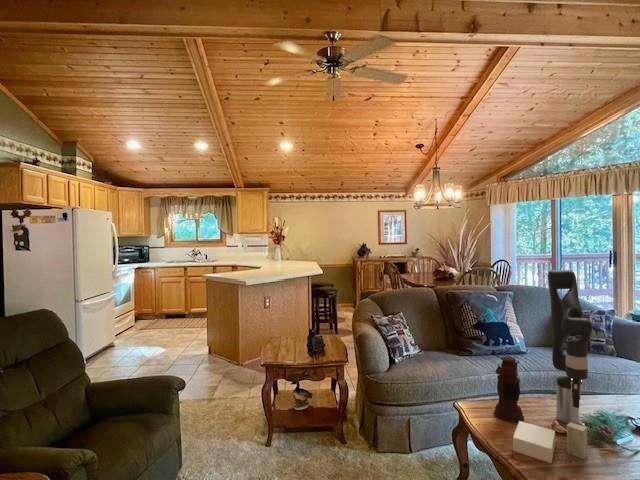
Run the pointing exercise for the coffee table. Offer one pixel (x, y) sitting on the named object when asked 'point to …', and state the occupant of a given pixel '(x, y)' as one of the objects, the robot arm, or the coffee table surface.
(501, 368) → the dark brown tall piece
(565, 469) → the coffee table surface
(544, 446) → the cream box
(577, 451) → the skincare box
